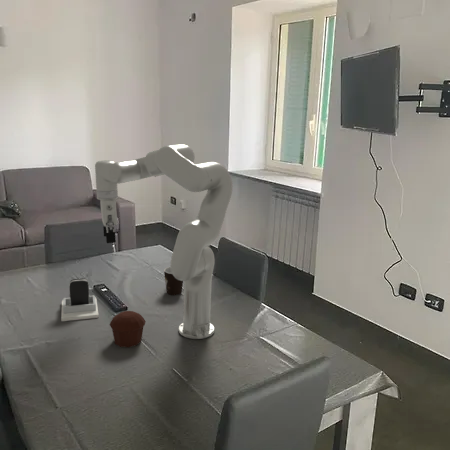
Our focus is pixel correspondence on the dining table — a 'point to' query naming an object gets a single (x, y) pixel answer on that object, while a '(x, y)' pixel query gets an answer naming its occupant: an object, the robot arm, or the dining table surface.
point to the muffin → (127, 328)
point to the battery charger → (79, 291)
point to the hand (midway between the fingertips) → (109, 239)
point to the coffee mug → (172, 283)
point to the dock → (79, 310)
